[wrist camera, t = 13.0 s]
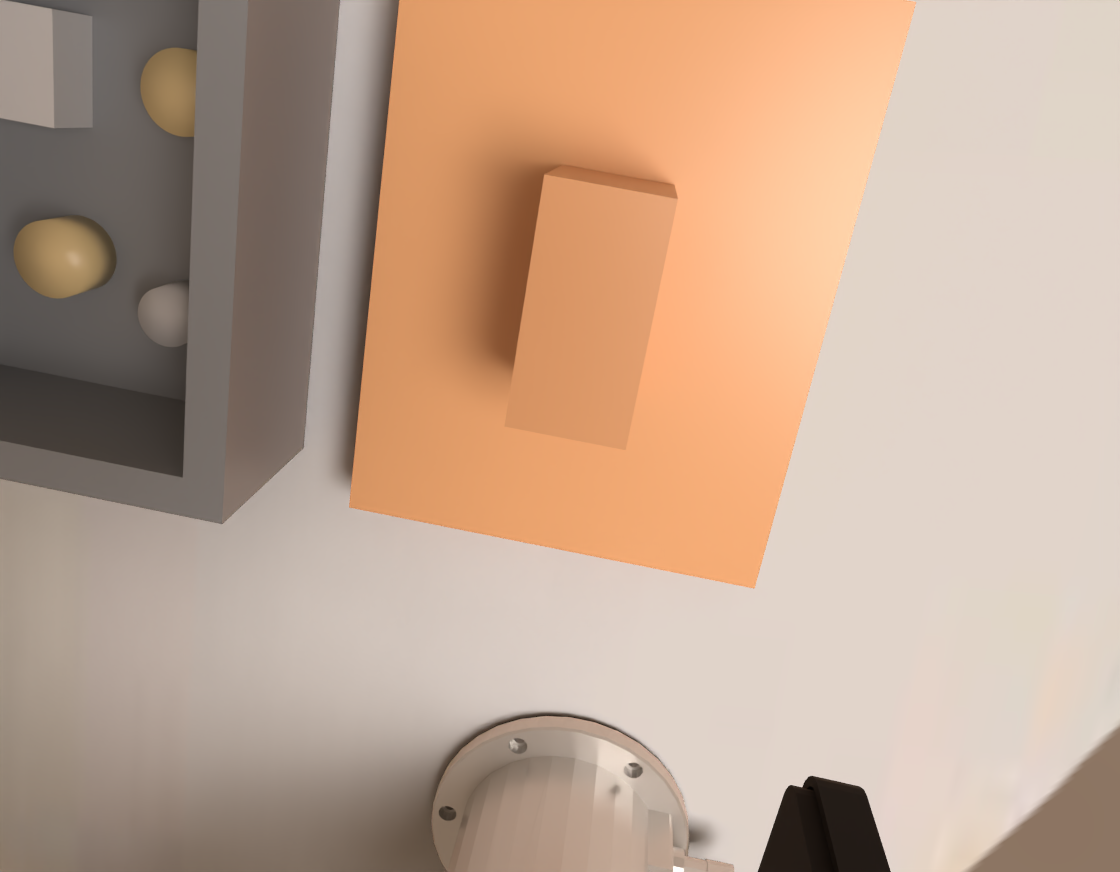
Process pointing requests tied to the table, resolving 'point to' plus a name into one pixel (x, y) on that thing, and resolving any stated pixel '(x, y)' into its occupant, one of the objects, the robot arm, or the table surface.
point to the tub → (160, 243)
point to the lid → (612, 265)
